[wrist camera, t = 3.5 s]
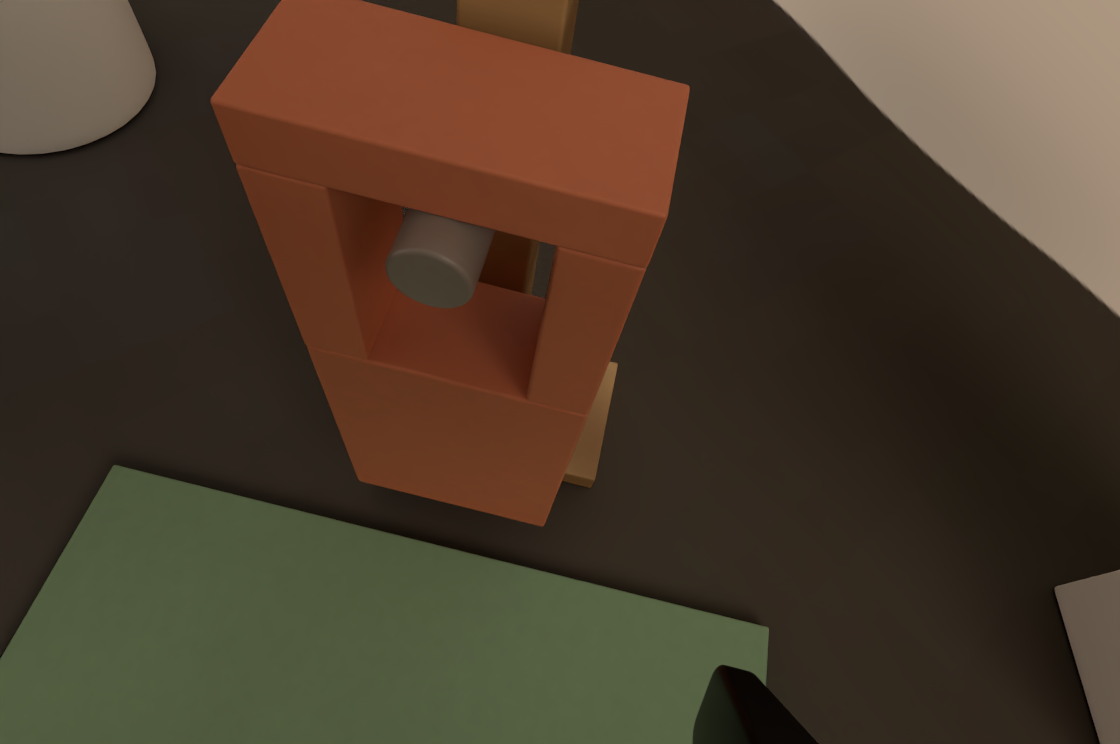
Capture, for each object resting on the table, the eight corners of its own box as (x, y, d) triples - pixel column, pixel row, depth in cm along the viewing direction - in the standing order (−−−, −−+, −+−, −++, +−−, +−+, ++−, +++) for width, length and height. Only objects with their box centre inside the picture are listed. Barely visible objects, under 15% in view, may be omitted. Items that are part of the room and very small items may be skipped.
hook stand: (573, 574, 20) (814, 229, 7) (316, 510, 20) (16, 23, 6) (613, 373, 24) (825, -125, 10) (395, 318, 24) (307, -262, 10)
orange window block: (543, 527, 19) (667, 218, 8) (357, 481, 19) (207, 99, 8) (560, 450, 20) (691, 83, 9) (386, 407, 20) (291, -20, 9)
